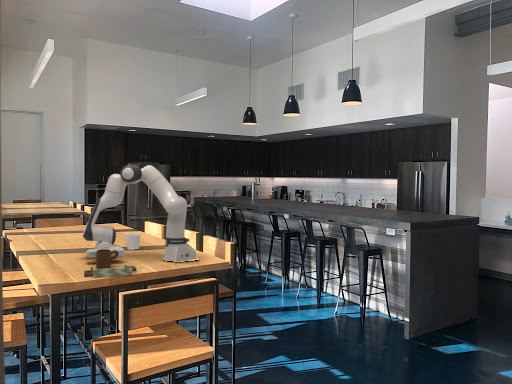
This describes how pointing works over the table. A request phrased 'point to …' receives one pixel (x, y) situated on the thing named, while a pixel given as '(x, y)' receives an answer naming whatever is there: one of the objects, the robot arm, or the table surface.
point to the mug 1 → (105, 258)
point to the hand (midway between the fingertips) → (107, 255)
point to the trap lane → (109, 272)
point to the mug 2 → (132, 241)
